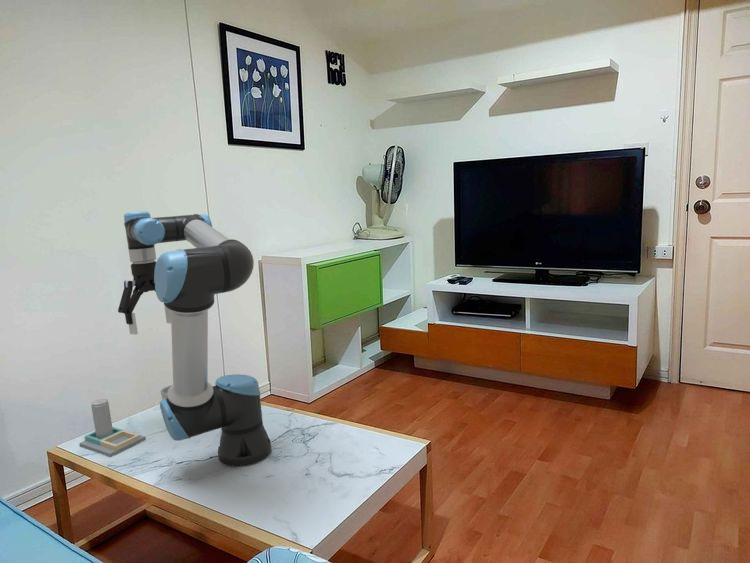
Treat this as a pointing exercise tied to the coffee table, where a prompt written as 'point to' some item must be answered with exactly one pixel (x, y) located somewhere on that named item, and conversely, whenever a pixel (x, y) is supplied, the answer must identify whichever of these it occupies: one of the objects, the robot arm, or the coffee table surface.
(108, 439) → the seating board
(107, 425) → the beverage can
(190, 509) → the coffee table surface
